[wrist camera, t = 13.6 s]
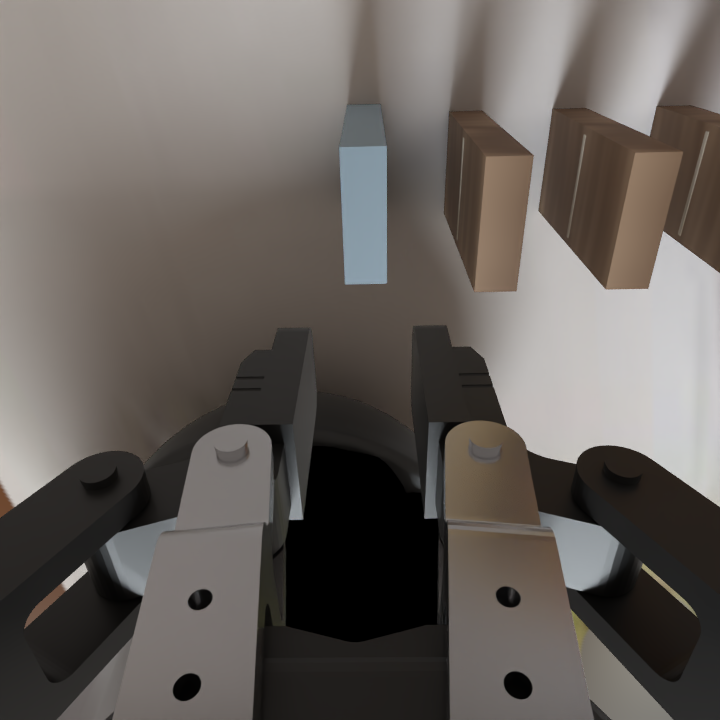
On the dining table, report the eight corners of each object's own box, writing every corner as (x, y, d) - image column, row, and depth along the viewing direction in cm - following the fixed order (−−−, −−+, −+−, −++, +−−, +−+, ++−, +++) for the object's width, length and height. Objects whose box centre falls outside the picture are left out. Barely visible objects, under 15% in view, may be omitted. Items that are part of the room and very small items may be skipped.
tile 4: (633, 208, 30) (738, 286, 22) (656, 106, 28) (785, 149, 19) (664, 208, 30) (781, 286, 22) (690, 105, 28) (835, 148, 19)
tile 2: (443, 212, 30) (473, 291, 22) (448, 111, 28) (485, 156, 19) (474, 212, 30) (516, 291, 22) (482, 111, 28) (534, 155, 19)
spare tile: (350, 207, 30) (344, 284, 22) (346, 104, 28) (338, 147, 19) (381, 206, 30) (387, 283, 22) (380, 103, 28) (387, 146, 19)
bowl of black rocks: (200, 558, 45) (108, 862, 29) (126, 335, 35) (-81, 618, 19) (457, 546, 44) (509, 854, 28) (460, 313, 34) (546, 591, 18)
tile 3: (538, 210, 30) (605, 289, 22) (552, 108, 28) (634, 152, 19) (569, 210, 30) (648, 288, 22) (586, 108, 28) (683, 151, 19)
